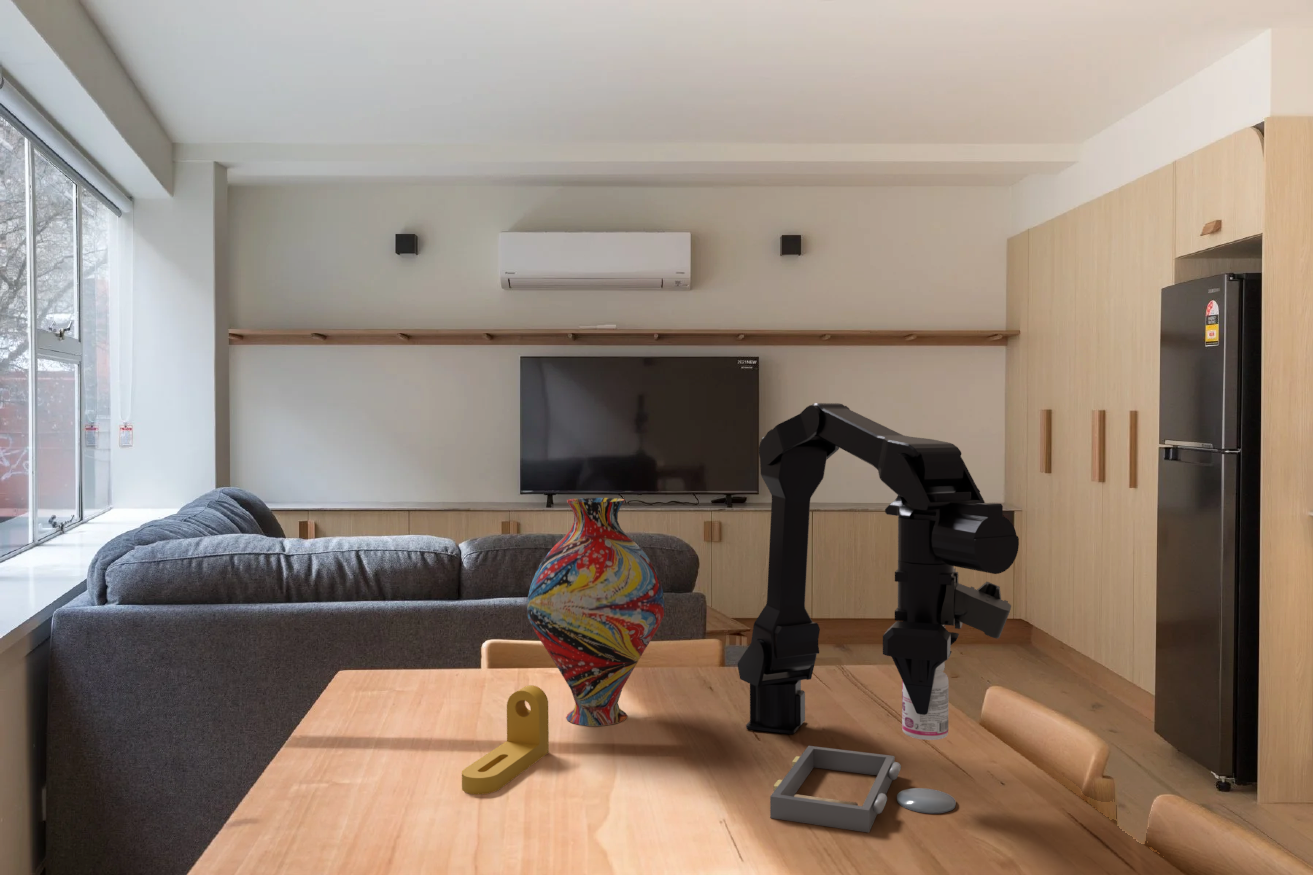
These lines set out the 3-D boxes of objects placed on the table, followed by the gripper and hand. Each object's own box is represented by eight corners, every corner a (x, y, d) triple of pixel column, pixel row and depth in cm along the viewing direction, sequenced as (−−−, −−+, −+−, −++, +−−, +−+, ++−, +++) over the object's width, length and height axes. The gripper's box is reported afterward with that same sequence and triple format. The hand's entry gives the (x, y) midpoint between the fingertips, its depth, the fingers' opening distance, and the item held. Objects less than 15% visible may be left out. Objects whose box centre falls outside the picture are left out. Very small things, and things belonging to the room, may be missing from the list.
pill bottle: (895, 727, 106) (895, 649, 106) (938, 726, 107) (938, 648, 106) (910, 741, 101) (911, 660, 101) (955, 740, 102) (955, 659, 102)
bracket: (516, 750, 122) (516, 683, 122) (548, 753, 121) (548, 686, 120) (454, 793, 108) (453, 718, 108) (489, 797, 106) (489, 721, 106)
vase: (501, 729, 130) (500, 503, 129) (567, 692, 147) (566, 493, 147) (632, 745, 123) (631, 507, 122) (684, 705, 140) (683, 496, 140)
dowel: (794, 815, 102) (792, 804, 101) (797, 801, 103) (795, 790, 102) (856, 824, 100) (854, 813, 99) (858, 809, 101) (856, 798, 100)
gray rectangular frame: (764, 816, 100) (764, 795, 100) (803, 763, 116) (803, 744, 116) (879, 833, 96) (879, 811, 96) (903, 776, 112) (903, 756, 112)
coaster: (893, 808, 102) (893, 804, 102) (901, 788, 108) (901, 785, 108) (952, 816, 100) (952, 812, 100) (957, 796, 106) (957, 792, 106)
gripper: (1002, 578, 92) (1001, 743, 92) (1009, 553, 109) (1008, 692, 110) (882, 571, 96) (881, 729, 96) (907, 548, 113) (907, 682, 114)
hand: (924, 707), depth 104 cm, fingers closed on pill bottle, 5 cm apart
